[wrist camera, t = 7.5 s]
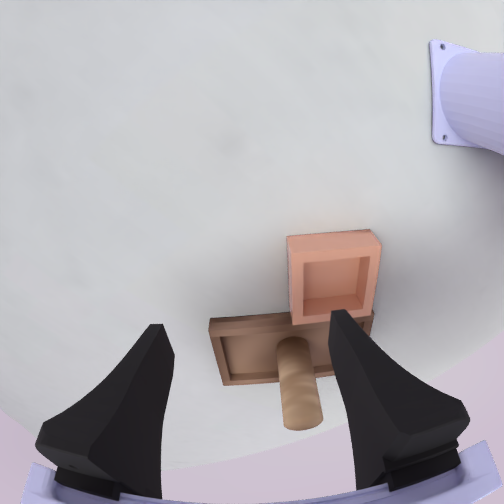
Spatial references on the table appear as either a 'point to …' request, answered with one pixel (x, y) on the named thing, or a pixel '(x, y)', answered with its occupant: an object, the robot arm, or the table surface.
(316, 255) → the open box
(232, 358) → the tray
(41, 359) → the table surface
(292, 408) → the dowel
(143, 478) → the robot arm
